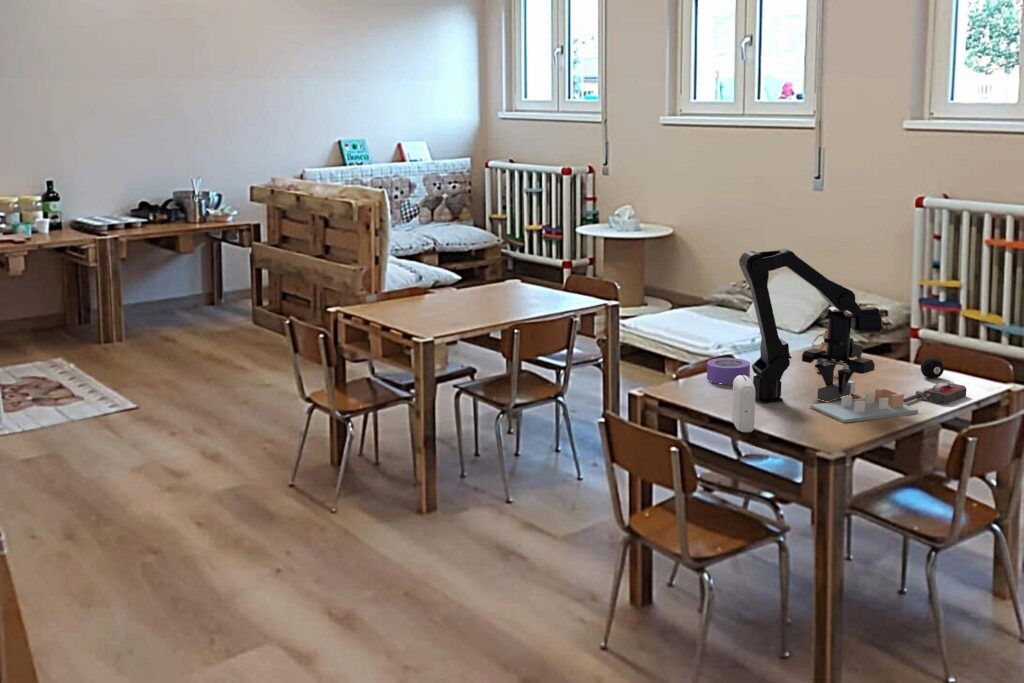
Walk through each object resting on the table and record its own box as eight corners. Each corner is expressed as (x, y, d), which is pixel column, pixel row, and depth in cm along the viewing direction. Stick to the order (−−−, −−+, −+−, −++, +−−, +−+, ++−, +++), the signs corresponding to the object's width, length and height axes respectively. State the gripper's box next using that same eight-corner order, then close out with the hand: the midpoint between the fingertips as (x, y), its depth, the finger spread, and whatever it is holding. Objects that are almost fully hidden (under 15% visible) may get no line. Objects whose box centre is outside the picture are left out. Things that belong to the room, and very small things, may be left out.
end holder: (892, 408, 285) (892, 395, 284) (874, 401, 291) (875, 389, 290) (902, 406, 286) (903, 394, 285) (885, 399, 292) (886, 387, 291)
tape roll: (706, 384, 312) (706, 367, 311) (706, 374, 324) (707, 357, 323) (750, 386, 310) (750, 368, 309) (749, 375, 322) (749, 358, 320)
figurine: (804, 370, 325) (806, 329, 322) (815, 366, 329) (817, 326, 327) (831, 375, 319) (833, 334, 317) (841, 371, 324) (843, 330, 321)
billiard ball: (926, 381, 312) (927, 360, 311) (916, 375, 318) (917, 355, 317) (946, 380, 313) (948, 359, 312) (936, 375, 319) (938, 354, 317)
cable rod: (827, 402, 293) (828, 389, 292) (816, 400, 296) (817, 387, 295) (854, 393, 301) (855, 381, 300) (843, 391, 303) (844, 379, 303)
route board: (843, 422, 276) (844, 409, 275) (810, 407, 289) (810, 394, 288) (917, 412, 283) (918, 399, 282) (881, 398, 296) (882, 386, 295)
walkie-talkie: (938, 390, 304) (899, 405, 292) (939, 374, 303) (900, 388, 291) (969, 397, 298) (931, 412, 285) (971, 380, 297) (932, 395, 284)
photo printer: (755, 432, 269) (757, 382, 266) (737, 432, 269) (739, 382, 266) (747, 420, 279) (749, 371, 276) (730, 420, 279) (731, 371, 276)
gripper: (888, 335, 292) (884, 393, 296) (826, 324, 306) (823, 380, 310) (863, 342, 285) (860, 401, 289) (801, 330, 299) (799, 387, 303)
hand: (835, 392), depth 298 cm, fingers closed on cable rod, 3 cm apart
